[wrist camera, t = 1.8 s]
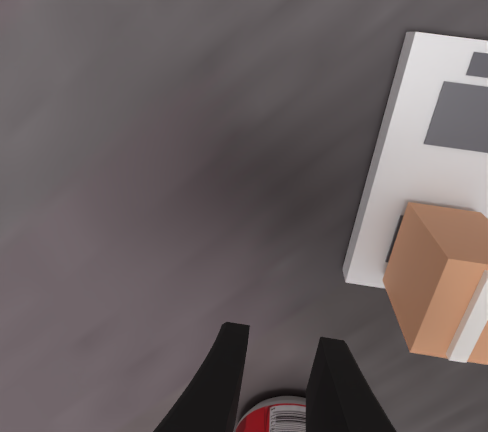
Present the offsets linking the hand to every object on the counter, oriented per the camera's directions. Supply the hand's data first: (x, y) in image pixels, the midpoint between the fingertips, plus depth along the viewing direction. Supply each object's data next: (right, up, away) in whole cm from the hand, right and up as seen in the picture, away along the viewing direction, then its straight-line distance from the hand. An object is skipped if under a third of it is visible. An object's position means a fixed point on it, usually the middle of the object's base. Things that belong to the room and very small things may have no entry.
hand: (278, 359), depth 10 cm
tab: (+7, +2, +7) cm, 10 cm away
